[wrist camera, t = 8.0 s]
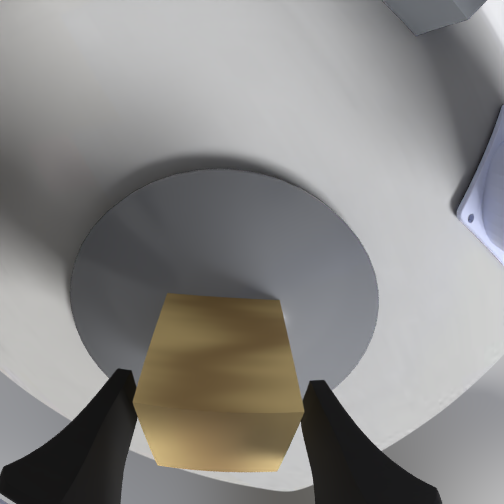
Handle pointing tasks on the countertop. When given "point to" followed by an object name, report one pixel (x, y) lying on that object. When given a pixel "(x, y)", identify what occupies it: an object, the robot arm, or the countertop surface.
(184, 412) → the ochre block
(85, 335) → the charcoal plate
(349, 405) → the countertop surface
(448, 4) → the slate grey block
